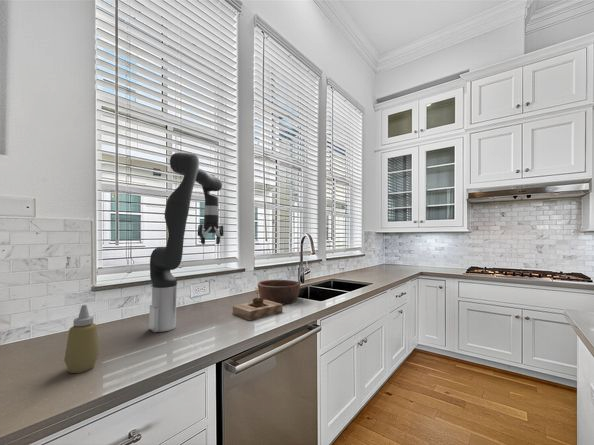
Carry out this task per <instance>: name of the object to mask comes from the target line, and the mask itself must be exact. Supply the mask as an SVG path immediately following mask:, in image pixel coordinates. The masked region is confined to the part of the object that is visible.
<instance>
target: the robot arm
mask: <svg viewBox="0 0 594 445" xmlns="http://www.w3.org/2000/svg"><path fill="white" fill-rule="evenodd" d="M169 166H170V168H171V170H172V172H174V173H176V174H180V175H182V176H183V177H182V178H183V179H182V181H181V182H180V184H179V185H178V186H177V188H176V189H175V190H173V192H172V193H171V194H170V195H169V196H168V198H167V199H166V204H165V208H164V209H165V210H164V220H165V224H166V227H167V232H168V233H167V241H166V246H159V247H158V246H157V247H156V248H154V249H153V250H152V252H151V254H150V257H149V276H150V277H149V278H150V281H151V285H152V287H151V304H150V305H149V317H148V318H149V321H148V327H149V328H148V329H149V330H150V331H152V332H153V333H158V332H159V333H161V332H167V331H172V330H174V329H175V328H176V327H177V326H176V325H177V296H178V295H177V294H178V290H177V289H178V288H177V287H178V279H177V278H176V277H175V276H174V275H173V274H172V272H171V271H174V270H176V269H177V268H178V267H179V266H180V264H181V262H182V260H183V254H184V253H183V252H184V251H183V250H184V243H185V242H184V239H185V232H186V227H187V226H186V225H187V220H188V217H189V211H190V205H191V199H192V195H193V189H194V186H195V183H196V182H197V184H199V185H201V187H202V191H203V195H204V209H203V210H204V211H203V225H202V224H198V225H197V237H200V243H201V245H206V236H207V235H208V234H214V235H215V244H216V245H219V244H221V238H222V237H224V225H219V197H218V196H217V195H215V194H212V193H211V192H219V191H221V190H222V188H223V183H222V181H221V179H220V178H218V177H217V176H214V175H211V174H209V173H208V171H206V170H204V169H202V168H200V160H199V156H198V155H197V153H192V152H174V153H172V154H171V156H170V159H169Z"/></svg>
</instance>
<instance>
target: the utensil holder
mask: <svg viewBox="0 0 594 445" xmlns="http://www.w3.org/2000/svg"><path fill="white" fill-rule="evenodd" d="M255 295H256V296H255V297H253V299H252V302H253V303H252V307H255V308H259V307H263V306H264V303H263V299H262V298H260V297H261V296H259V288H258V287H257V288H256V291H255Z"/></svg>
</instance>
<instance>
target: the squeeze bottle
mask: <svg viewBox="0 0 594 445" xmlns="http://www.w3.org/2000/svg"><path fill="white" fill-rule="evenodd" d="M99 355H100V350H99V336H98V324H96V323H94V316H92V315H90V314H89V308H88V306H87V304H82V305H81V307H80V310H79V314H78V317H75V318H73V325H72V326H71V327H70V328H69V330H68V335H67V341H66V348H65V354H64V364H65V366H66V368H67V371H68V372H69V373H72V374H79V373H84V372H86V371H89V370H91V369H93V368H94V367H95V364H96V363H97V359H98V357H99Z"/></svg>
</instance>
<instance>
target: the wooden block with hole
mask: <svg viewBox="0 0 594 445" xmlns="http://www.w3.org/2000/svg"><path fill="white" fill-rule="evenodd" d="M252 303H253V301H250V302H247V303H246V302H245V303H239V304H236V305H232V315H233V316H236V317H238V318H242V319H245V320H247V321H253V320H257V319H261V318H265V317H269V316H270V317H271V316H274V315H277V314H278V315H279V314H281V313H283V311H284V310H283V305H284V304H280V303H276V302H272V301H269V300H263V303H264V306H263V307H259V308H255V307H252Z"/></svg>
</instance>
